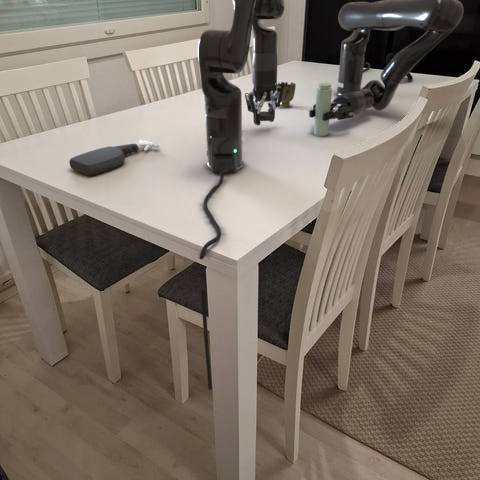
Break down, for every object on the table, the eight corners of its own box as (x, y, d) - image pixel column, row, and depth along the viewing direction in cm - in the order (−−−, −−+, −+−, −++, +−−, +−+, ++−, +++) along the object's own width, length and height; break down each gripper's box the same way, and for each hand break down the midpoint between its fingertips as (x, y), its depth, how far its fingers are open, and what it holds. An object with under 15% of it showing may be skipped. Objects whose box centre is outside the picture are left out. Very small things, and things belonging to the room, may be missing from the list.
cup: (271, 107, 166) (272, 85, 162) (279, 102, 172) (280, 80, 168) (290, 109, 163) (291, 87, 159) (297, 104, 169) (298, 82, 165)
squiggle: (400, 92, 202) (376, 71, 205) (417, 76, 202) (392, 56, 205) (405, 81, 191) (380, 59, 194) (423, 64, 191) (397, 42, 194)
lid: (252, 119, 142) (252, 114, 141) (261, 115, 145) (261, 110, 145) (266, 122, 139) (266, 117, 138) (275, 117, 143) (275, 112, 142)
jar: (328, 132, 142) (333, 82, 134) (327, 136, 138) (331, 86, 130) (314, 131, 143) (318, 82, 135) (312, 135, 139) (316, 85, 131)
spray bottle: (67, 168, 120) (139, 144, 136) (91, 178, 114) (163, 151, 130) (65, 157, 118) (137, 134, 134) (89, 167, 112) (162, 142, 128)
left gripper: (253, 72, 128) (253, 130, 137) (290, 65, 135) (288, 121, 144) (238, 68, 133) (239, 124, 142) (274, 62, 140) (273, 116, 149)
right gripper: (332, 89, 148) (299, 99, 138) (370, 96, 139) (337, 107, 129) (330, 111, 152) (298, 123, 142) (366, 120, 143) (334, 133, 133)
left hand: (264, 122), depth 143 cm, fingers closed on lid, 5 cm apart
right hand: (317, 115), depth 136 cm, fingers closed on jar, 4 cm apart
